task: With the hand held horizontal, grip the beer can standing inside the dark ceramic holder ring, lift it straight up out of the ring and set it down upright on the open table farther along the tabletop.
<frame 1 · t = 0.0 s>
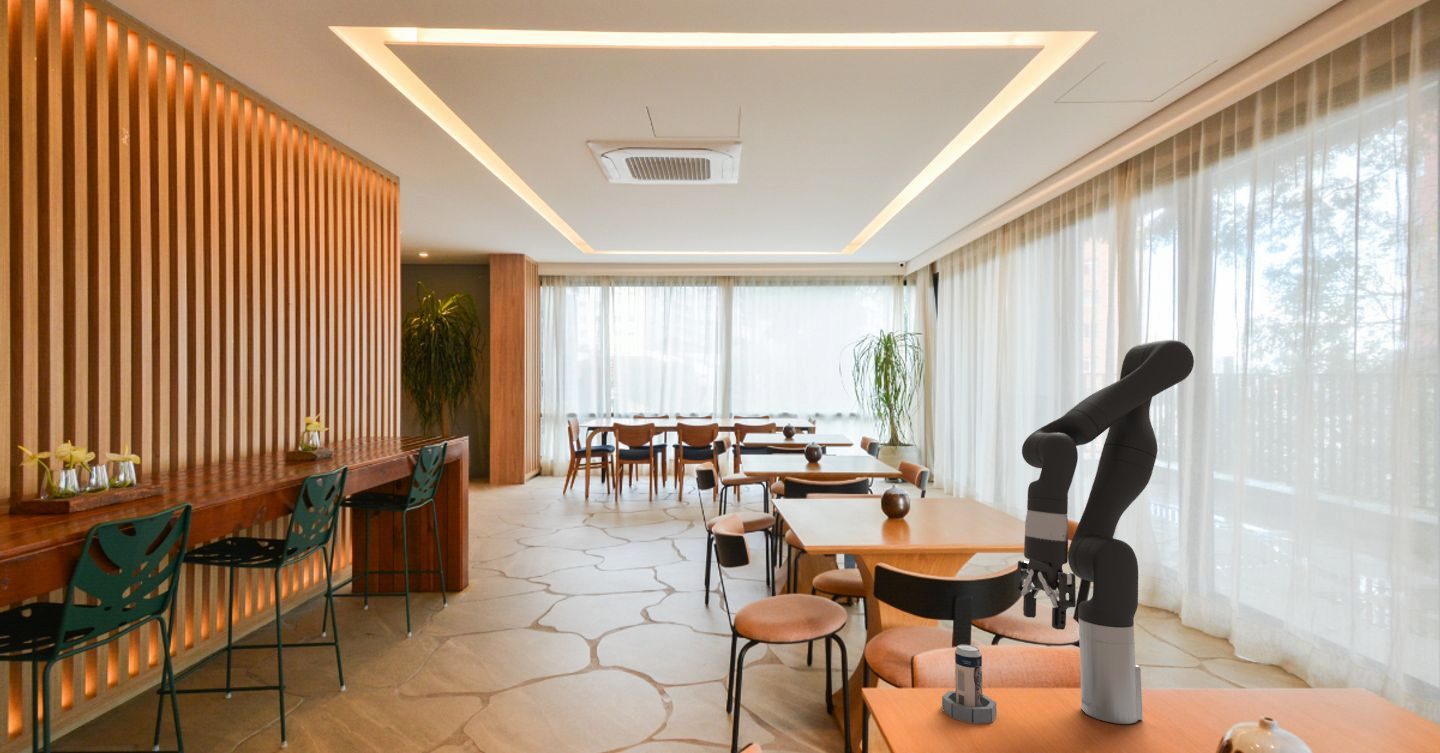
hand: (1043, 622, 123), 17 cm above the table, tool pointing down, fingers open, 8 cm apart
holder ring: (969, 713, 123), on the table
beer can: (969, 714, 123), resting in holder ring
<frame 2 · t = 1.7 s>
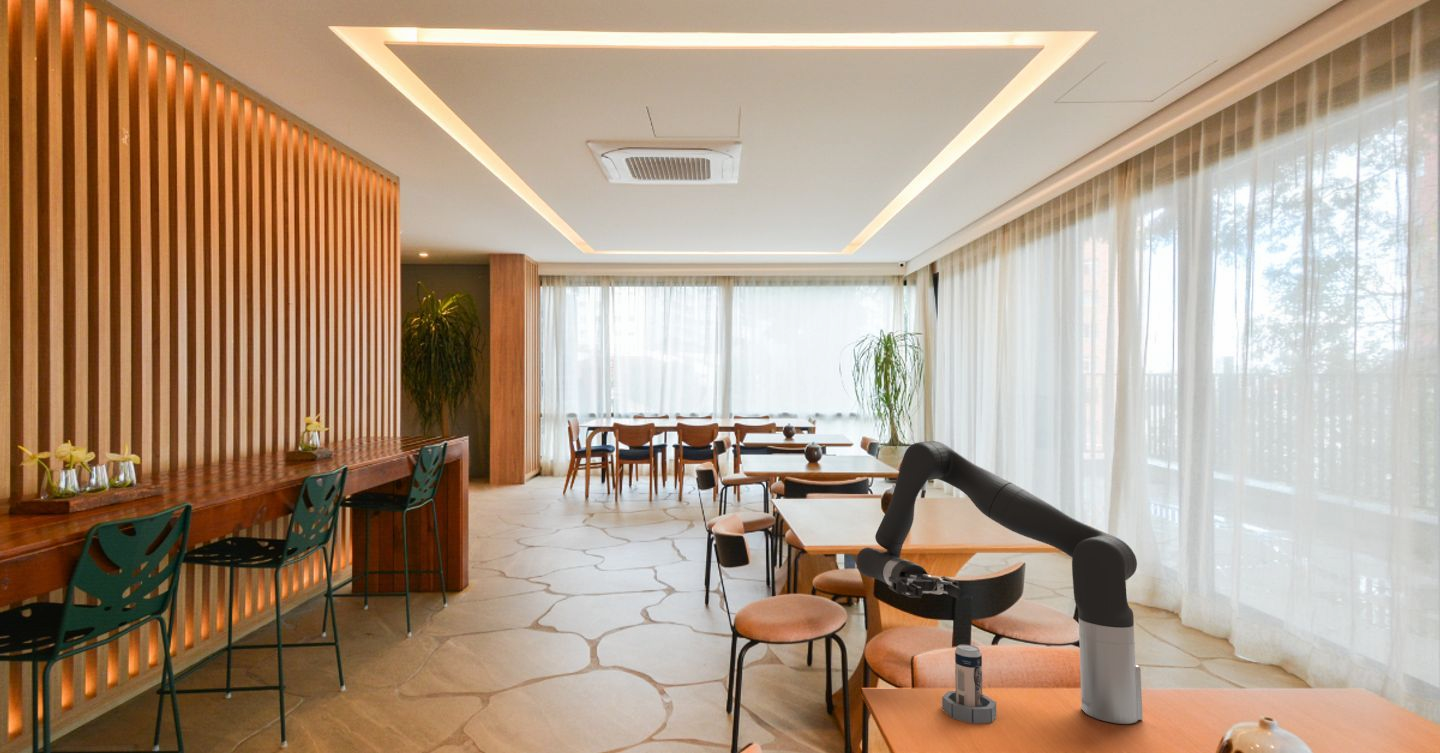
hand: (939, 592, 136), 20 cm above the table, tool horizontal, fingers open, 8 cm apart
nothing on the table moved.
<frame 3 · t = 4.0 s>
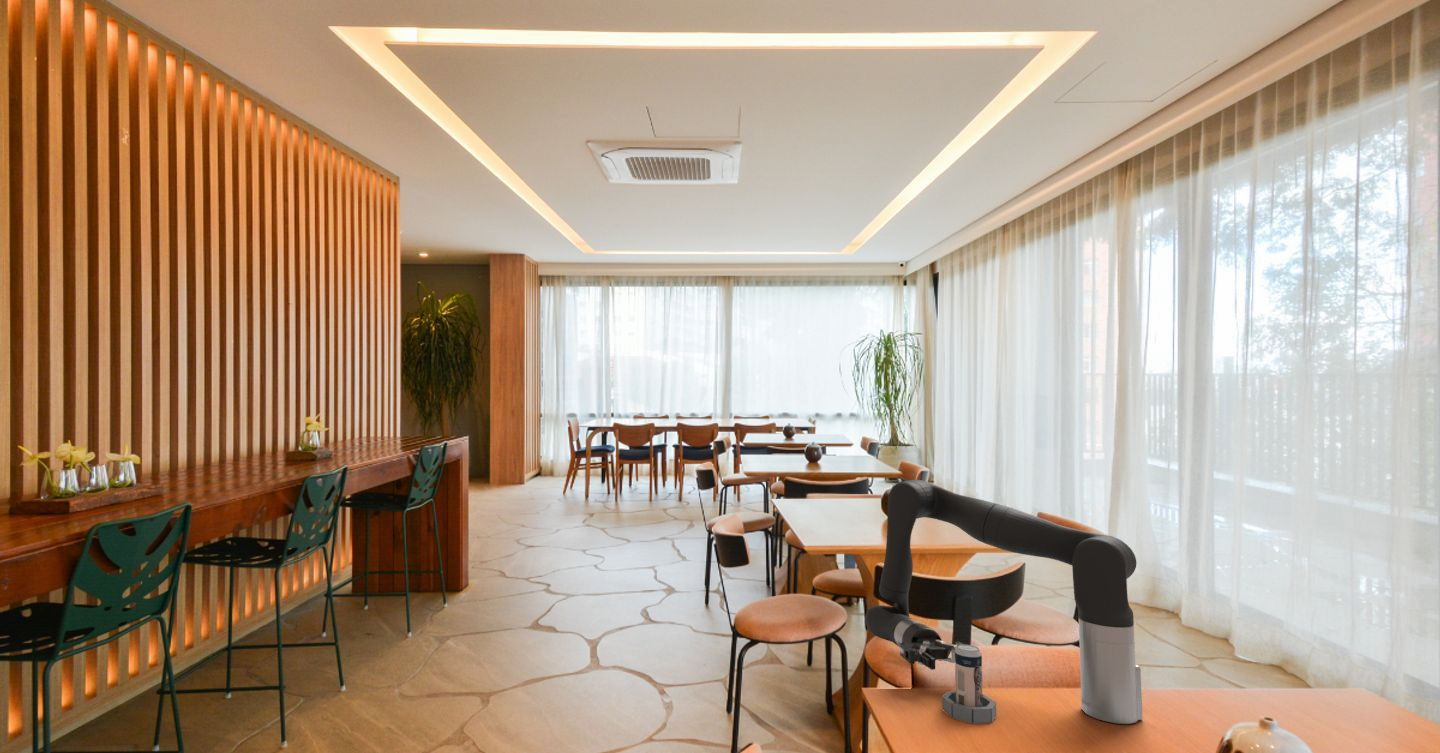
hand: (953, 663, 129), 7 cm above the table, tool horizontal, fingers open, 8 cm apart
nothing on the table moved.
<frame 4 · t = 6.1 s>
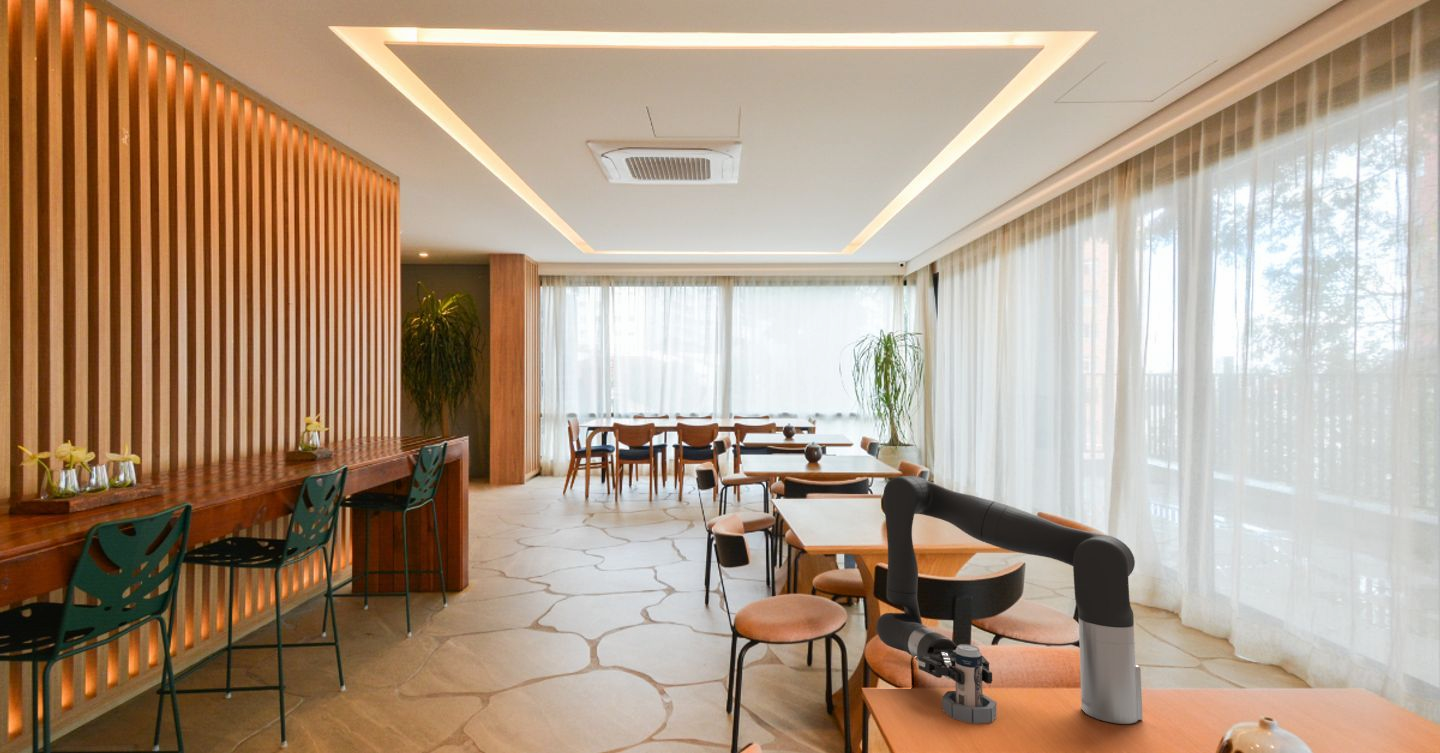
hand: (976, 678, 121), 7 cm above the table, tool horizontal, fingers closed on beer can, 4 cm apart
beer can: (969, 714, 123), resting in holder ring, touching gripper
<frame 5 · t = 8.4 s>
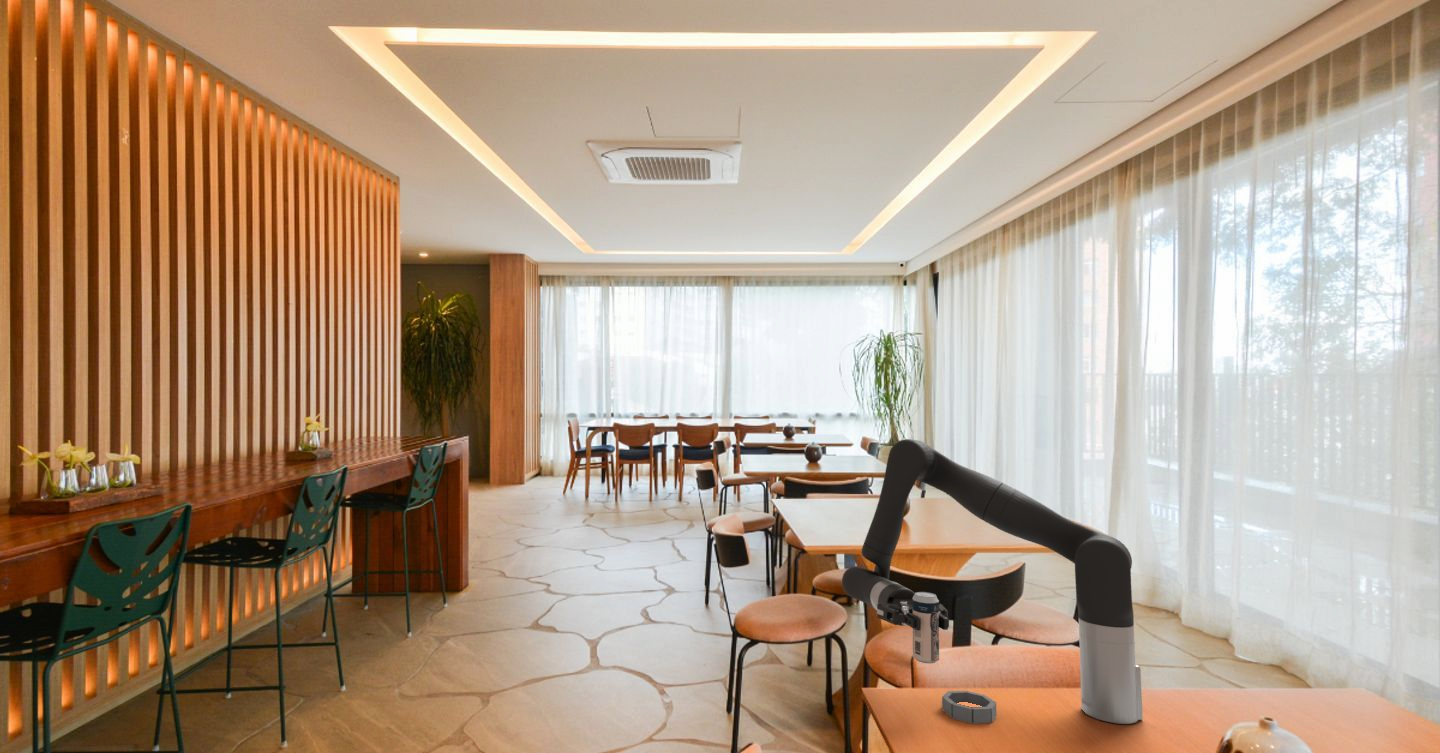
hand: (932, 624, 120), 17 cm above the table, tool horizontal, fingers closed on beer can, 4 cm apart
beer can: (925, 661, 121), point 10 cm above the table, touching gripper
when the fingers open (8 cm above the table, at t = 10.7 s): beer can drops 1 cm, on the table.
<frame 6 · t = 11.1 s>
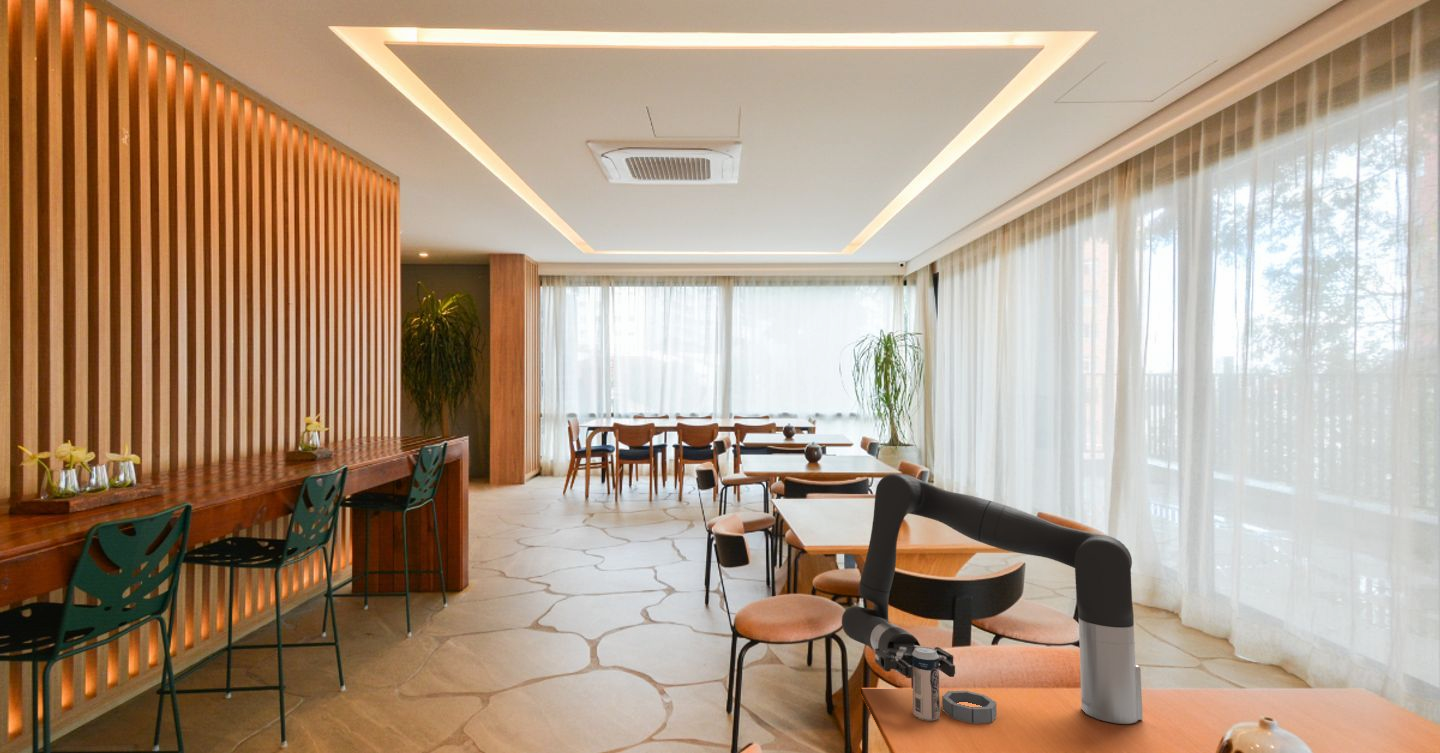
hand: (931, 672, 119), 9 cm above the table, tool horizontal, fingers open, 8 cm apart
beer can: (926, 718, 120), on the table
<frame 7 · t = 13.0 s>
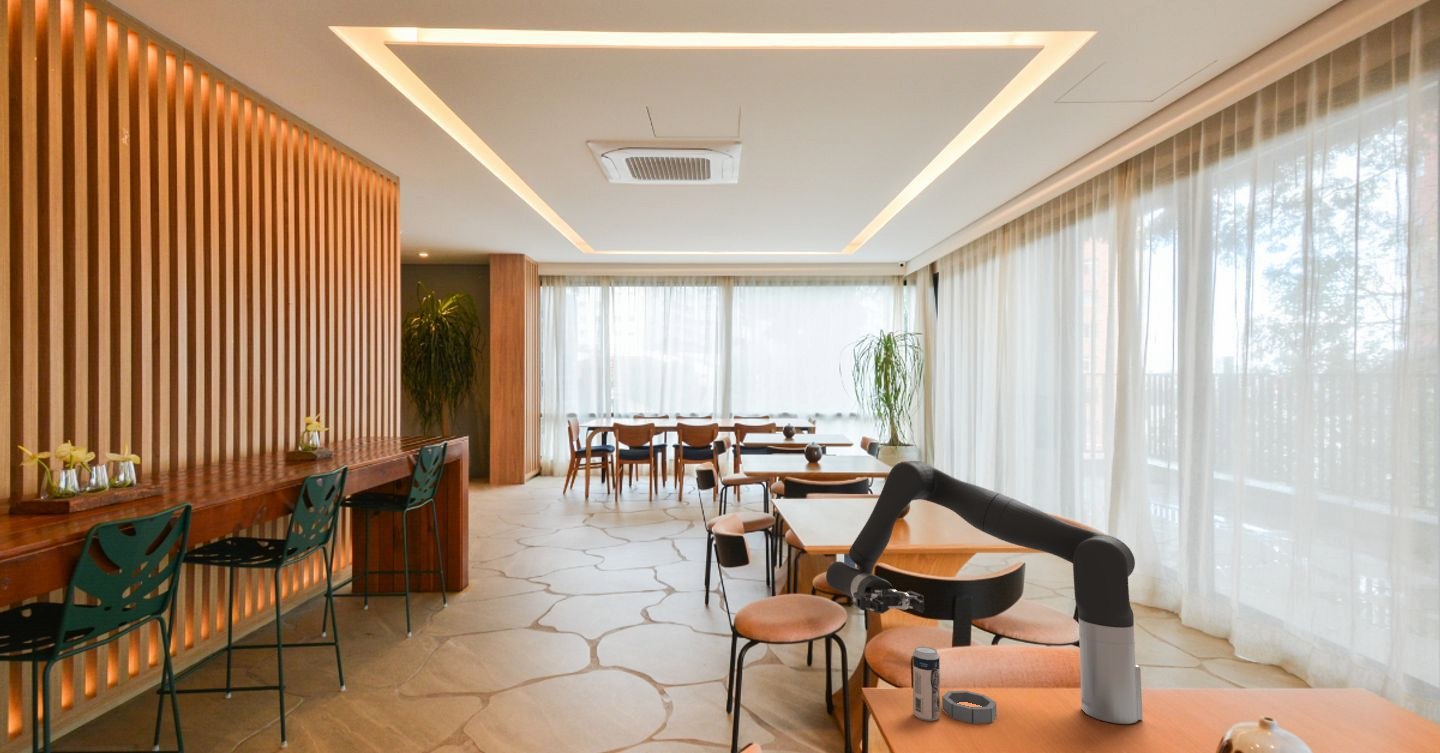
hand: (902, 607, 133), 17 cm above the table, tool horizontal, fingers open, 8 cm apart
nothing on the table moved.
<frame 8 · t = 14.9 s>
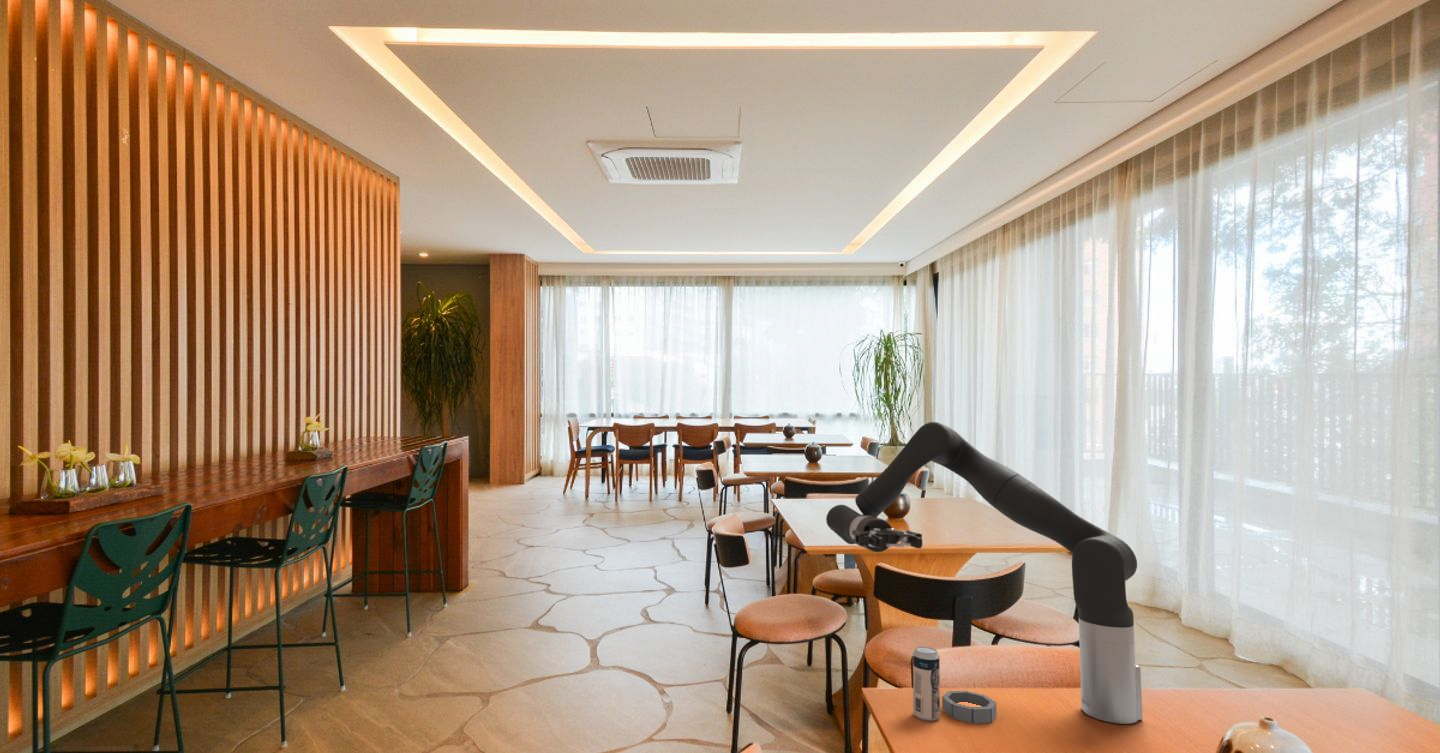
hand: (900, 543, 134), 30 cm above the table, tool horizontal, fingers open, 8 cm apart
nothing on the table moved.
at the end: beer can inside the target area (0.5 cm from its centre), on the table; beer can tilted 0°; beer can touching table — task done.
